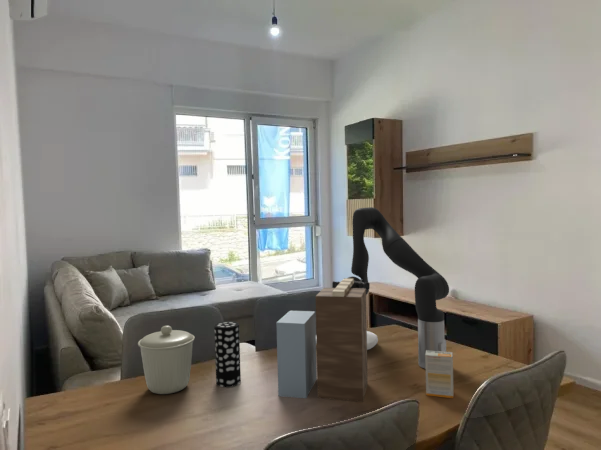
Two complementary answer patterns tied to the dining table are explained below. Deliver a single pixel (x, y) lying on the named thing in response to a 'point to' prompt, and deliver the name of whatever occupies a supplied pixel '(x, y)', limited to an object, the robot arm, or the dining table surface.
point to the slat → (343, 287)
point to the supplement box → (439, 373)
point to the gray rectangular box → (296, 353)
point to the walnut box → (341, 345)
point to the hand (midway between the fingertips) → (349, 285)
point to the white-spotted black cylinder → (227, 354)
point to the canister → (167, 360)
